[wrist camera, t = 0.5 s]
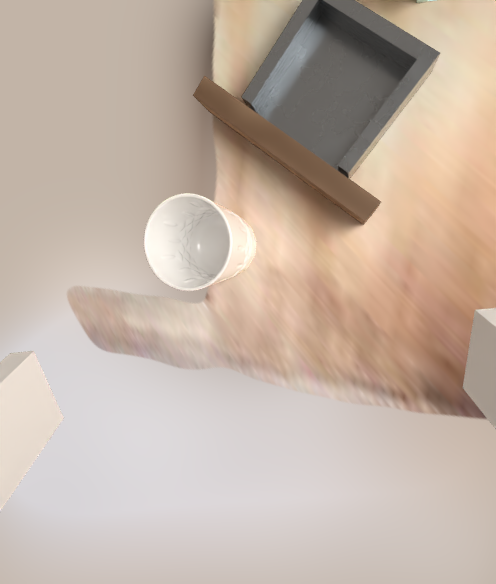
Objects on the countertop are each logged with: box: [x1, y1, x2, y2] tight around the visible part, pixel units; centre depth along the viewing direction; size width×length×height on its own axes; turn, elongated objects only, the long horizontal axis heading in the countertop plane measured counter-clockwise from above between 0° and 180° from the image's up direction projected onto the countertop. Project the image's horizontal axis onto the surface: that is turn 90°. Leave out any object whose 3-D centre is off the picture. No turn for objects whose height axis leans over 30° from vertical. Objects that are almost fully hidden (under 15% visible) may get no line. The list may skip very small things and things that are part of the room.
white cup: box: [144, 193, 257, 291], centre depth 33 cm, size 8×8×10 cm
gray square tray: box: [242, 0, 440, 179], centre depth 32 cm, size 12×12×3 cm
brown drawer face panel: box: [193, 76, 381, 225], centre depth 33 cm, size 2×20×4 cm, turn 53°
